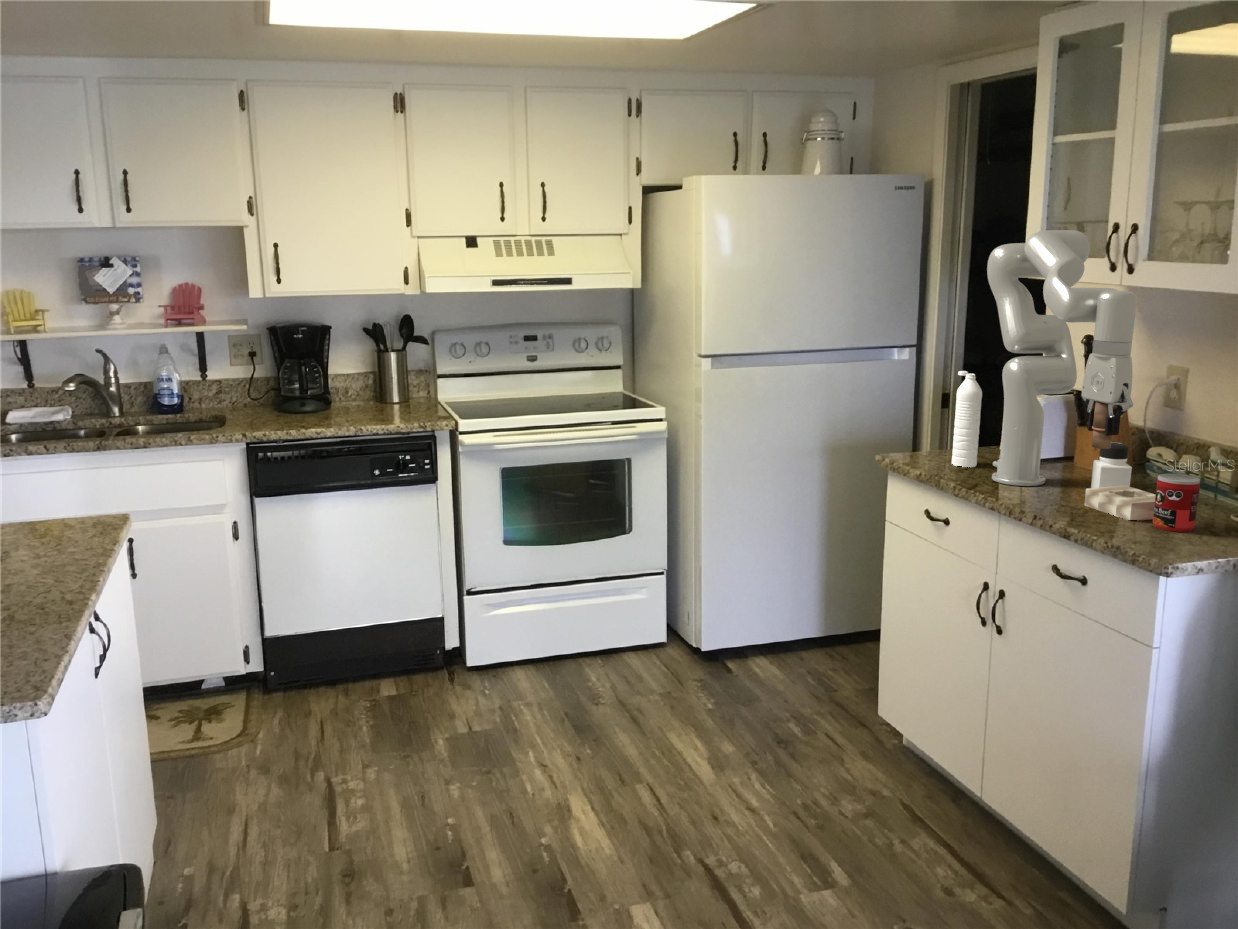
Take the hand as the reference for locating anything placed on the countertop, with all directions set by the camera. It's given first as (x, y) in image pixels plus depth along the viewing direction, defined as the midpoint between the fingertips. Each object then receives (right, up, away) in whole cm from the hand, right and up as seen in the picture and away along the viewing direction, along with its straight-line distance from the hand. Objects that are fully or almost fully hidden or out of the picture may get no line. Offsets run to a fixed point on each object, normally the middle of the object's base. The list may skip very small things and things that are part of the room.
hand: (1102, 431), depth 224 cm
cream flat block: (+9, -18, +7) cm, 21 cm away
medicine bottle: (+14, -14, +25) cm, 32 cm away
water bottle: (-12, -7, +55) cm, 57 cm away
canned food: (+12, -21, -5) cm, 25 cm away
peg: (0, -3, +1) cm, 3 cm away
